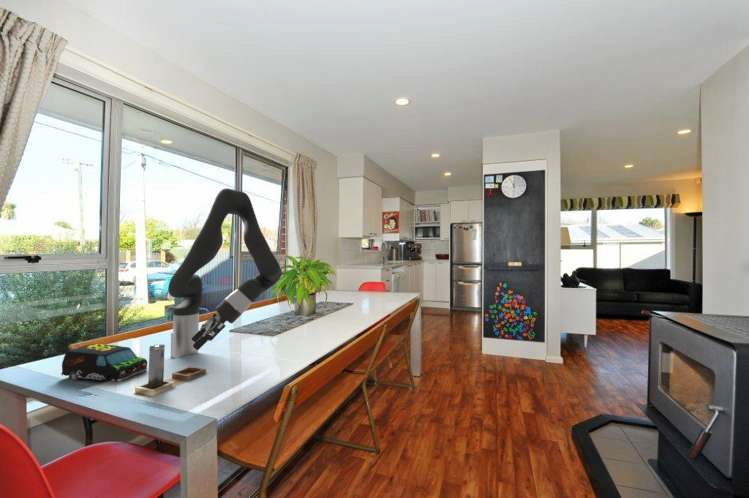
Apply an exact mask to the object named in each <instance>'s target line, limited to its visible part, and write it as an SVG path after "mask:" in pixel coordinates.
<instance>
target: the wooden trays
mask: <svg viewBox="0 0 749 498" xmlns="http://www.w3.org/2000/svg"><path fill="white" fill-rule="evenodd" d="M206 374H207V369H206V368H202V367H195V366H188V367H185V368H183V369H180V370H178V371H174V372H172V373H171V378H168V379H164V380H163V386H161V387H158V388H156V389H148V382H146V383H144V384H140V385H137V386H135V387H134V392H133V394H134V395H138V396H144V397H147V398H152V397H156V396H157V395H159V394H162V393H164V392H166V391H168V390H171V389H173V388H175V387H178V386H180V385H183V384H184V383H188V382H190V381H193V380H194V379H196V378H199V377H201V376H203V375H206Z"/></svg>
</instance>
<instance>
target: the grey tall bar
mask: <svg viewBox="0 0 749 498" xmlns="http://www.w3.org/2000/svg"><path fill="white" fill-rule="evenodd" d="M165 348H166V345H165V344H161V343H158V344H152V345H150V346H149V354H148V355H149V357H148V377H147V378H148V379H147V380H148V381H147V383H148V389H156V388H158V387H161V386H163V380H165V379H164V378H165V377H164V375H165V353H166V352H165V350H166V349H165Z"/></svg>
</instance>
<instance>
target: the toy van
mask: <svg viewBox="0 0 749 498" xmlns="http://www.w3.org/2000/svg"><path fill="white" fill-rule="evenodd" d="M61 368H62V369H61V371H62V372H60V375H61V376H65V377H68V379H69V380H68V381H71V380H73V381H72V382H80V381H81V379H89V380H96V381H97V380H98V381H106V382H107V381H108V382H110V381H112V382H115V383H116V382H117V383H121V382H123V381H126V380H128V379H130V378H133V377H135V376H138V375H141V374H143V373H145V372H146V371H147V370H148V360H147V359H146V358H144V357H140V356H137V355H136V353H135V352H134V351H133V349H132V348H131V347H128V346H121V345H116V344H115V345H114V344H101V343H91V344H87V345H83V346H79V347H75V348H72V349H68V350H66V352H65V353H64V356H63V359H62V362H61Z"/></svg>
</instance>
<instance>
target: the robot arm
mask: <svg viewBox="0 0 749 498" xmlns="http://www.w3.org/2000/svg"><path fill="white" fill-rule="evenodd" d="M228 215H235V216H238V217H239V218H240V220H241V221H242V223H243V227H244V228H243V242H244V244H245V247H246V248H247V251H248V252H249V254H250V256H251V258H252V259H253V262H254V263H255V266H256V268H257V271H258V274H257V275H256V276H254V277H253V278H252V277H251V278H247V279H246V280H244V282H242V283H241V284H240V285H239V286H238V287H237V288H236V289H235V290H233V291H231V293H230V294H228V295H227V296H226V297H225V298H224V299H223V300H222V301H221V302H220V303H219V304H218V305H216V306H215V308H214V309H215V311H216V312H217V313H213V314H212V315H211V316H210V317H209V318H208V319H207V320H206V321H205V322H204V323H202V325H201V327H199V326H200V308H201V306H202V296H203V295H202V293H203V281H202V278H201V277H200V275H198V274H196V273H197V272H198V271H199V270H201V269H202V268H204V267H205V266H206V265H208V264H210V263H211V262H212V261H213V260H214V259H215V258H216V256H217V255H218V253H219V251H220V249H221V247H222V245H223V242H224V239H223V231H222V226H223V223H224V221H225V219H226V218H227V216H228ZM256 215H257V214H256V213H255V210H254V207H253V204H252V201H251V199H250V196H249V195H248V194H247V193H245V191H242V190H241V191H240V190H237V189H233V188H232V189H231V188H222V189H221V190H220V191H219V192H218V193H217V195H216V196H215V199H214V201H213V204H212V205H211V208H210V211H209V213H208V216H207V218H206V220H205V221H204V223H203V225H202V228H201V229H200V232H199V233H198V234H197V235H196V238H195V239H194V242H193V243H192V245H191V246H190V247H191V248H190V250H189V251H188V253H187V254H186V256H185V257H184V260H183V261H182V263H181V264H180V266H179V267H178V268H177V270H176V271H175V272H174V274H173V275H172V277H171V279H170V280H169V283H168V288H167V289H168V294H169V295H170V297H172V298H176V299H177V298H178V299H182V298H184V300H183V301H182V302H181V303H179V304H177V305H176V306H174V308H172V309H173V310H172V311H173V312H172V317H173V318H172V332H171V334H170V357H172V358H173V359H177V358H180V357H183V356H188V355H189V356H190V355H194V354H196V353H197V354H199V350H200V349H201V348H202V347H203V346H204V345H205V344H206V343H207V342H209V341H210V342H211V341H213V340H214V339H215V338H216V337H217V335H219V334H220V333H221V331H223V329H225V327H226V324H225V323H226V322H228V323H229V324H234V322H236V321H237V319H239V318H240V317H241V316H242V314H244V312H246V311H247V310H248V308H249V307H250V306H251V305H252V303H254V302H255V301H256V300H257V299H258V298H259V297H260V296H261V295H262V294H263V293H265V291H267V290H269V289H270V288H272V287H273V286H274V285H276V284H277V283H278V282H279V281H280V279H281V278H282V275H283V271H282V267H281V266H280V263H279V261H278V260H277V258H276V257H275V255H274V253H273V252H272V250H271V247H270V246H269V243H268V241H267V240H266V238H265V236H264V234H263V232H262V230H261V228H260V225H259V223H258V219H257V216H256Z"/></svg>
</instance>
